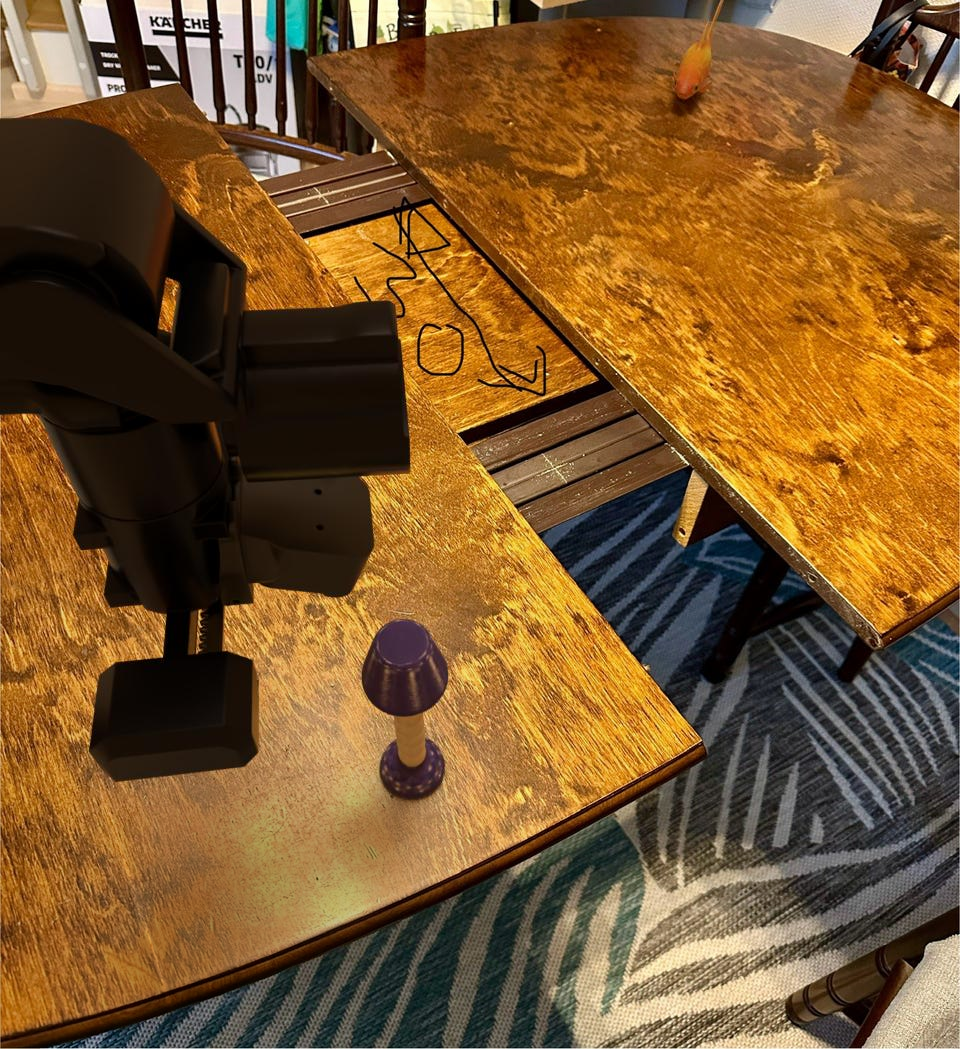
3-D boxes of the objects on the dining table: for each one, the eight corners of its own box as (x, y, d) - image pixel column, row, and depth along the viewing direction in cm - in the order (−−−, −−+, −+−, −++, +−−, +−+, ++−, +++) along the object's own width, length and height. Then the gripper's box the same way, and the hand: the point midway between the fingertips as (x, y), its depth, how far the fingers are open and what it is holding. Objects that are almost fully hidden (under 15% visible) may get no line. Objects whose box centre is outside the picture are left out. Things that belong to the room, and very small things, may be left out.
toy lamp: (389, 815, 56) (383, 698, 43) (358, 753, 59) (343, 623, 45) (456, 781, 58) (470, 658, 44) (423, 721, 60) (427, 587, 47)
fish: (694, 131, 117) (715, 55, 109) (654, 121, 118) (671, 44, 110) (729, 53, 129) (750, -21, 121) (692, 44, 130) (710, -31, 122)
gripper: (370, 648, 30) (388, 816, 43) (343, 303, 42) (363, 513, 54) (27, 684, 29) (146, 846, 41) (94, 317, 40) (173, 530, 53)
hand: (221, 662), depth 47 cm, fingers open, 9 cm apart
